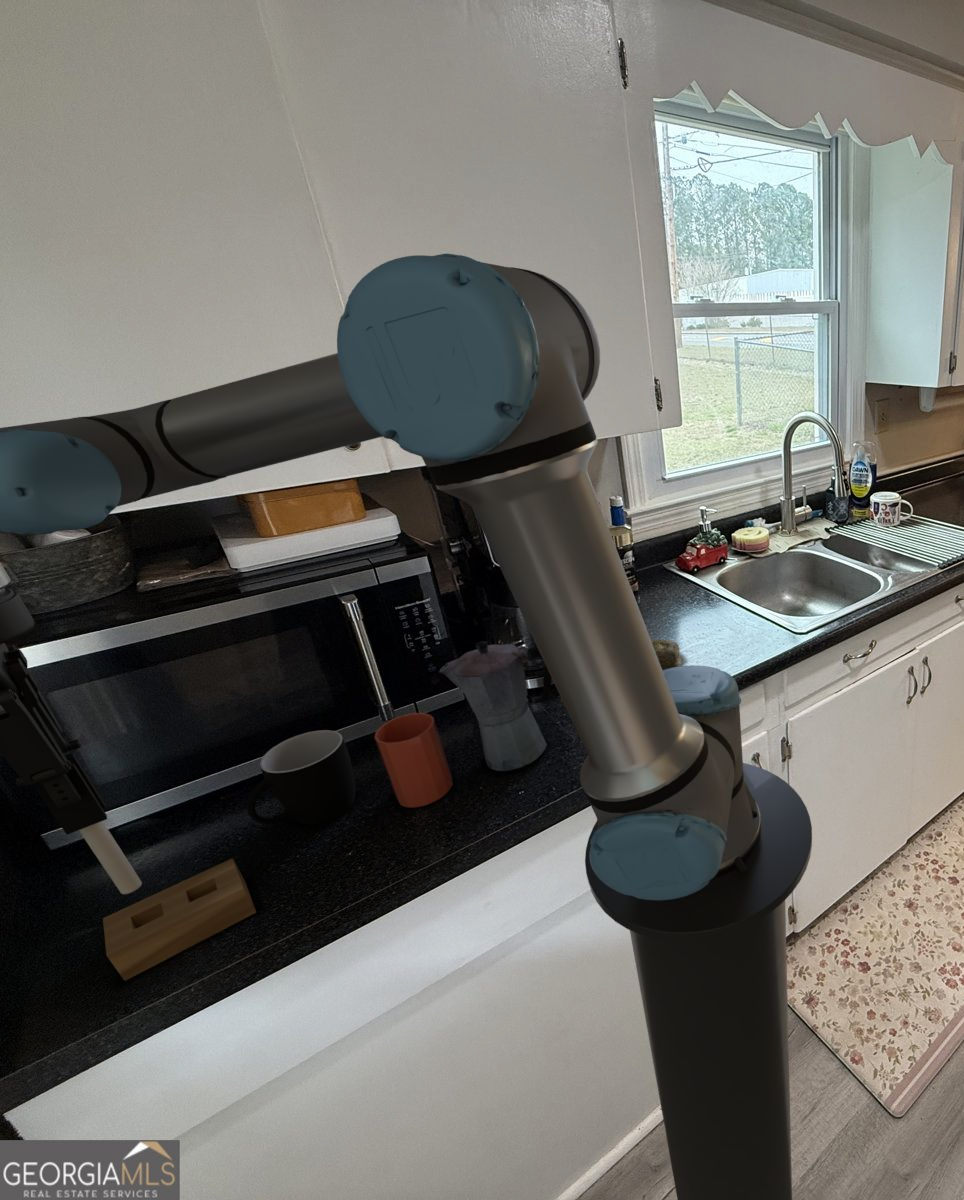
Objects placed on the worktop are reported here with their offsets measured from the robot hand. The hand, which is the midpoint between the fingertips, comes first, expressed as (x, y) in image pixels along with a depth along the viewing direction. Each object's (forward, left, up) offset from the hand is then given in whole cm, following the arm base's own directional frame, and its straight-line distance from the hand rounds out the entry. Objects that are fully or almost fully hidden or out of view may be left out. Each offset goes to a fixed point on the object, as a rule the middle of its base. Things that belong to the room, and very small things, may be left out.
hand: (86, 818), depth 60 cm
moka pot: (+2, -41, -18) cm, 45 cm away
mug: (+10, -16, -18) cm, 26 cm away
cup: (+4, -28, -18) cm, 33 cm away
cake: (+8, -72, -18) cm, 75 cm away
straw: (0, 0, -9) cm, 9 cm away
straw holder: (0, -2, -18) cm, 18 cm away
